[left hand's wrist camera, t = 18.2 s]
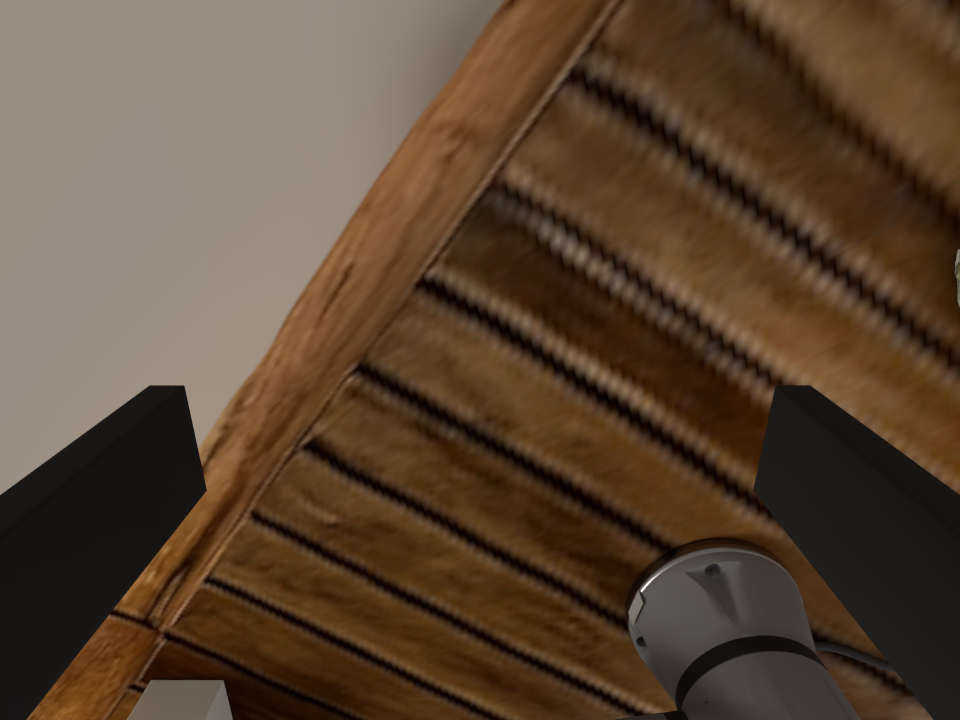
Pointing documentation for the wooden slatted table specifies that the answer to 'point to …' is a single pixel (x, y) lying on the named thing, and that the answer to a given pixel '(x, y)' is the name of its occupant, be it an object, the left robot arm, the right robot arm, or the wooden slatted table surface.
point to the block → (183, 701)
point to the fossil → (958, 273)
